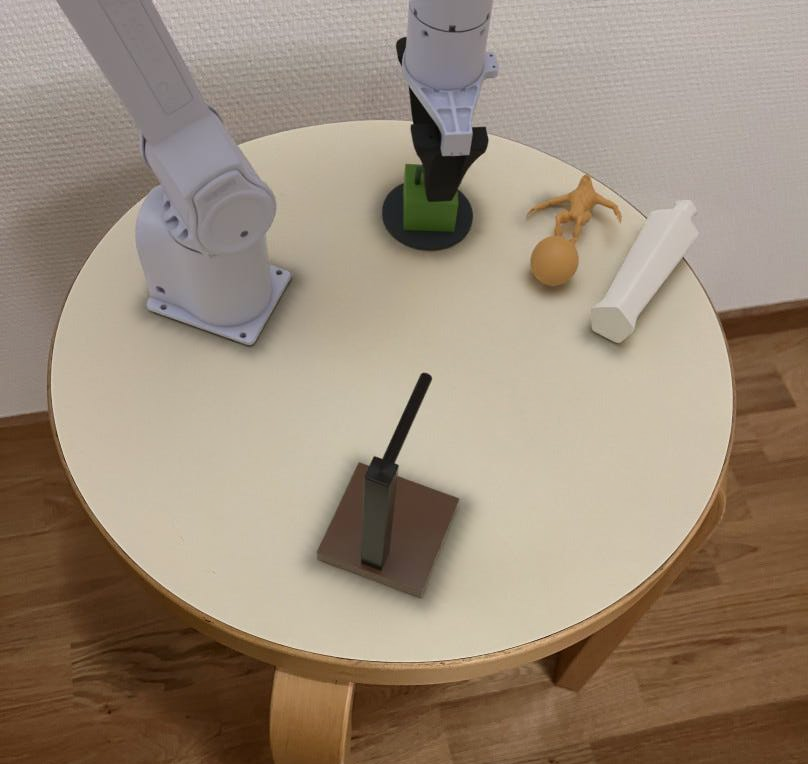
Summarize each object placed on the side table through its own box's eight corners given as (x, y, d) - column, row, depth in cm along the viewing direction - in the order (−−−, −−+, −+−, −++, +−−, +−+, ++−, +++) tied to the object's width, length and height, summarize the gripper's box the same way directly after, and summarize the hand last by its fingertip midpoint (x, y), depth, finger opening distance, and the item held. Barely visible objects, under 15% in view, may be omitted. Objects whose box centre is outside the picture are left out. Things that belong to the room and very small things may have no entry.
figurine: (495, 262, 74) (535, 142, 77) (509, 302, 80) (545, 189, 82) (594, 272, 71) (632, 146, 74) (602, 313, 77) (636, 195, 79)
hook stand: (316, 559, 65) (310, 464, 52) (363, 458, 68) (367, 347, 56) (420, 598, 64) (438, 511, 51) (462, 494, 68) (488, 390, 55)
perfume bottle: (644, 347, 73) (716, 230, 79) (628, 303, 70) (704, 186, 76) (595, 346, 76) (668, 234, 82) (578, 304, 73) (655, 192, 79)
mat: (368, 233, 78) (368, 230, 78) (401, 171, 81) (401, 167, 81) (454, 262, 77) (455, 259, 77) (484, 198, 80) (485, 195, 80)
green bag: (403, 230, 78) (406, 186, 73) (403, 192, 80) (406, 147, 75) (454, 232, 78) (460, 188, 74) (452, 194, 80) (458, 149, 75)
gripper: (526, 76, 59) (495, 227, 71) (490, -63, 65) (467, 99, 77) (420, 79, 58) (407, 232, 71) (393, -62, 64) (385, 102, 77)
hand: (432, 163), depth 74 cm, fingers open, 7 cm apart
